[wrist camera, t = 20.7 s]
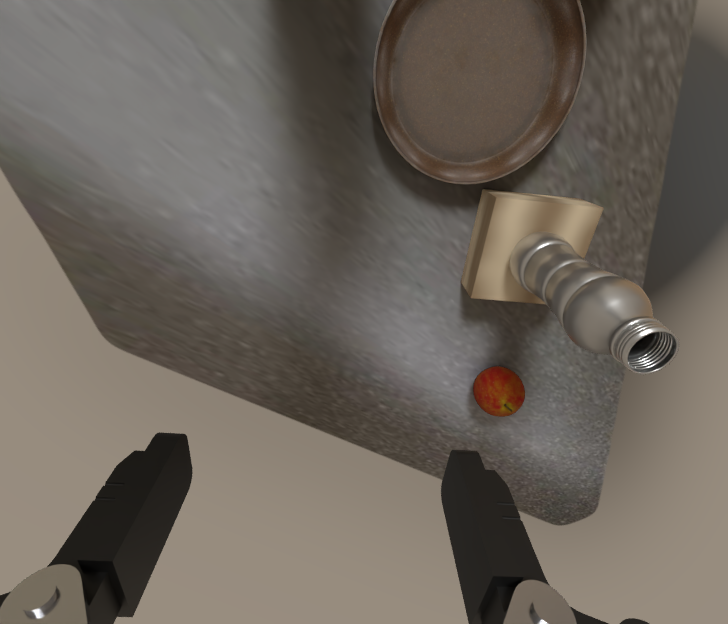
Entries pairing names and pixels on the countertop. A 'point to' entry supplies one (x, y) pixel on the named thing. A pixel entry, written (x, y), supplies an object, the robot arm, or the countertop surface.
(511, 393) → the fruit
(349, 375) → the countertop surface
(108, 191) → the countertop surface
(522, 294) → the block
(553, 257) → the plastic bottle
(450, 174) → the plant saucer
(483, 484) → the robot arm
